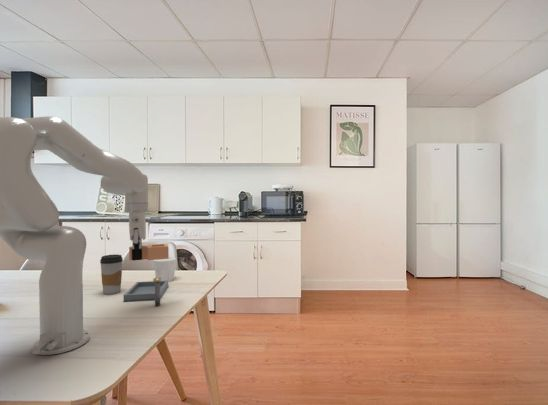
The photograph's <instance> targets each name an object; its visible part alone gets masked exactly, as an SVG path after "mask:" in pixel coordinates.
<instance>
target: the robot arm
mask: <svg viewBox="0 0 548 405" xmlns="http://www.w3.org/2000/svg"><path fill="white" fill-rule="evenodd" d="M35 151H49V152H51V153H52V154H54V155H55V156H56V157H59V158H60V159H62V160H63V162H66V163H68V164H69V165H71V166H72V167H73V168H75V169H76V170H78V171H79V172H84V173H87V174H91V175H95V176H96V175H97V176H102V177H101V178H100V186H101V188H102V190H104V191H105V192H106V193H108V194H110V195H111V194H113V195H124V210H125V211H124V212H125V213H127V214H128V230H129V231H128V232H129V240H130V241H131V242H132V246H131V247H132V260H131V261H143V260H142V248H141V246H143V242H142V240H143V241H145V240H146V237H147V226H146V224H147V221H146V213H148V212H149V179H148V176H147V175H146V174H144V173H143V172H142V171H141V170H140V169H139V168H138V167H137V166H136V165H134V164H133V163H132V162H130V161H129V160H127V159H125V158H123V157H121V156H119V155H116V154H114V153H111V152H109V151H107V150H104V149H103V148H102V149H101V148H99V147H97V146H96V145H95V144H94V143H93V142H92V141H91V140H90V139H88V138H86V136H84V135H83V134H82V133H80V132H79V131H78V130H77V129H76V128H74V127H73V126H72V125H71V124H69V123H68V122H67V121H65V119H62V118H60V117H58V116H51V115H50V116H49V115H47V116H46V115H45V116H37V117H25V118H19V117H14V116H13V117H12V116H10V117H9V116H2V117H0V238H1V239H2V241H4V242H5V243H6V244H7V245H8V247H10V248H11V250H12V251H13V252H14V253H15V254H17V255H18V256H20V257H21V258H23V259H25V260H30V261H39V262H45V263H44V264H43V268H42V270H41V272H40V275H39V278H38V279H39V280H38V291H39V292H38V294H39V295H38V296H39V299H38V300H39V339H38V340H36V341H35V342H34V343H33V344H32V347H31V348H32V349H31V354H33V355H41V356H51V355H56V354H57V355H59V354H62V353H66V352H70V351H73V350H75V349H78V348H79V347H81V346H84V344H86V343H87V342H88V341H89V340H90V336H91V334H90V331H89V330H86V329H84V295H83V294H84V293H83V291H84V290H83V288H84V285H83V284H84V283H83V268H84V260H85V259H84V258H85V254H86V251H87V250H86V249H87V239H86V235H85V234H84V233H83V232H82V230H80V229H78V228H76V227H73V226H69V225H68V226H67V225H57V223H58V222H59V219H60V212H59V209H58V208H57V205H56V203H54V201H53V200H52V198H51V197H50V196H49V194H48V193H47V192H46V191H45V189H44V188H43V187H42V185H41V183H40V182H39V180H38V179H37V178H36V176H35V174H34V173H33V170H32V166H31V161H32V157H33V152H35Z"/></svg>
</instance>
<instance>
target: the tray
mask: <svg viewBox="0 0 548 405" xmlns="http://www.w3.org/2000/svg"><path fill="white" fill-rule="evenodd" d="M168 288H169V282H168V281H160V300H161V298H162V297H163V295H164V294H165V292H166V291H167V289H168ZM145 301H155V282H154V280H151V281H150V280H149V281H136V282H135V283H134V284H133V285H132V286H131V287H130V288H129V289H128V290H127V291H126V292H125V293H124V294H123V303H124V302H125V303H126V302H145Z"/></svg>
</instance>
